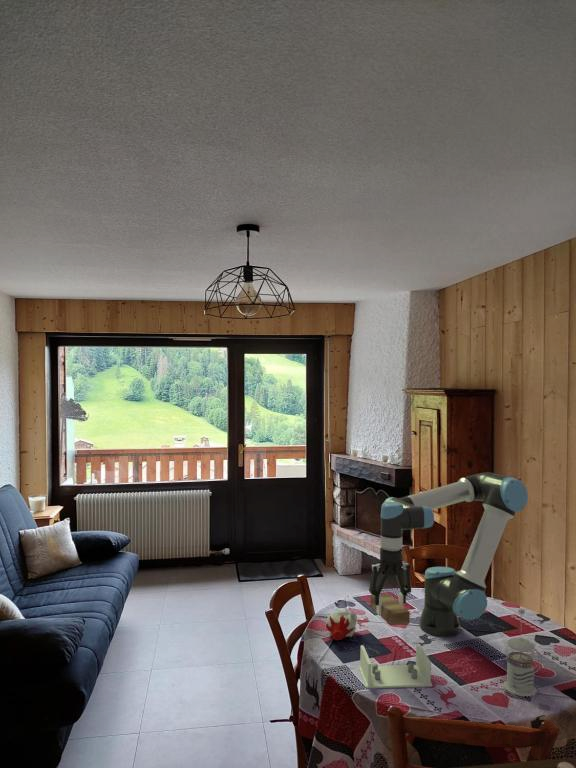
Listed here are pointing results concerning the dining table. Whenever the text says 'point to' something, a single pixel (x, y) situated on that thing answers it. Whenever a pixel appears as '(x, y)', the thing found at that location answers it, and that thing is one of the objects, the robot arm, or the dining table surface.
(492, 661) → the dining table surface
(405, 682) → the shelf frame
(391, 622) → the brown long block
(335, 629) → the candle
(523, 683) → the french press
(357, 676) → the dining table surface
